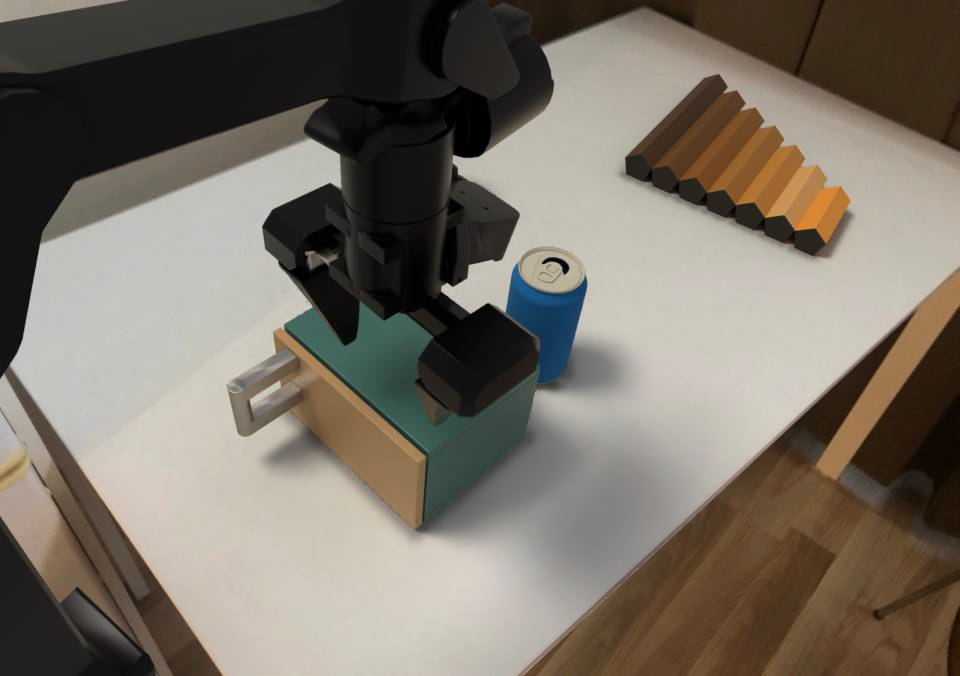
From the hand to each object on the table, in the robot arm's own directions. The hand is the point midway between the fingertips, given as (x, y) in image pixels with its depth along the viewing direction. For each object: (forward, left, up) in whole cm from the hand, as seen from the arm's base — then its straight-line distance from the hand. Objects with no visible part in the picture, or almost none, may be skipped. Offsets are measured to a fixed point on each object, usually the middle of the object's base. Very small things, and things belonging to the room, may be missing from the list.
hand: (392, 380), depth 53 cm
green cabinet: (+6, +5, -15) cm, 16 cm away
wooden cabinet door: (-3, +5, -14) cm, 15 cm away
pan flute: (+65, +5, -15) cm, 67 cm away
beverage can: (+19, +2, -15) cm, 24 cm away
